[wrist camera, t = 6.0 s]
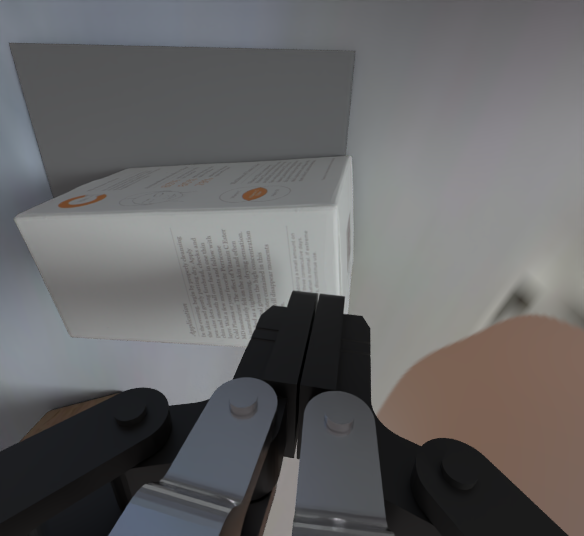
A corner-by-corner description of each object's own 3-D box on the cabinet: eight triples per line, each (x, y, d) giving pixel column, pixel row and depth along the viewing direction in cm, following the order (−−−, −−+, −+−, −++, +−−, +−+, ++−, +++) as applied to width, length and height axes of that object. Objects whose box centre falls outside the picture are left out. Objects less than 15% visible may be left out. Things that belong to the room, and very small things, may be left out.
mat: (355, 51, 17) (355, 50, 17) (331, 304, 24) (331, 307, 23) (15, 43, 20) (8, 42, 19) (79, 272, 26) (75, 275, 26)
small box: (355, 264, 22) (155, 262, 24) (354, 152, 19) (127, 164, 22) (344, 359, 15) (66, 340, 17) (339, 205, 12) (6, 212, 15)
